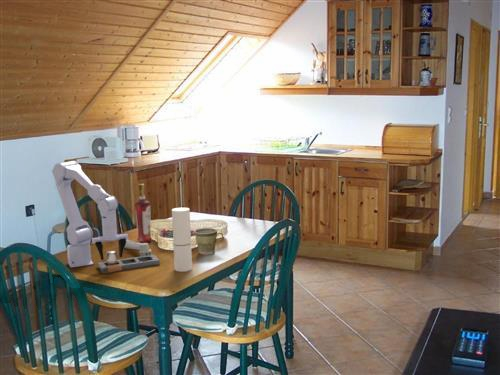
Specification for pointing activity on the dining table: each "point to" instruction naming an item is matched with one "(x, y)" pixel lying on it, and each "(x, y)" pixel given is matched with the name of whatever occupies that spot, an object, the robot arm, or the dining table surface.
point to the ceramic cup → (206, 240)
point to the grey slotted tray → (129, 263)
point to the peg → (111, 258)
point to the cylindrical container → (182, 239)
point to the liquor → (143, 217)
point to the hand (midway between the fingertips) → (111, 258)
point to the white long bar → (138, 247)
